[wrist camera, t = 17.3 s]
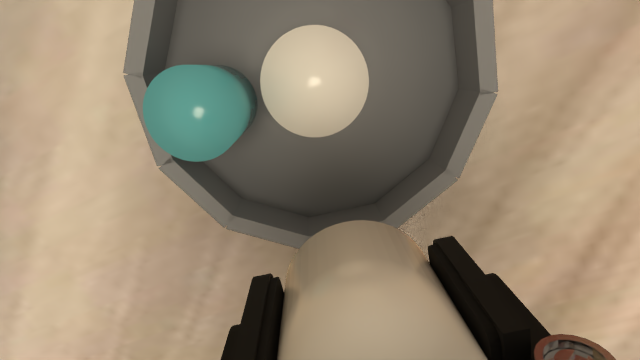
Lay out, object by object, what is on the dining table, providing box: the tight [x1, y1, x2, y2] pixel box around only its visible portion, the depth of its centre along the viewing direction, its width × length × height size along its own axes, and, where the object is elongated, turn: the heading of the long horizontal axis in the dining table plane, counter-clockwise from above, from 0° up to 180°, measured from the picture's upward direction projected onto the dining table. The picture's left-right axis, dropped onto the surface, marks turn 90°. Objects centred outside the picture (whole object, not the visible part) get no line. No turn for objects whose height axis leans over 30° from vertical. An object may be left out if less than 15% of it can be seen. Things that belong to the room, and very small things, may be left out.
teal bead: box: [143, 65, 258, 162], centre depth 20 cm, size 5×5×6 cm
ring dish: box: [123, 0, 498, 249], centre depth 22 cm, size 21×21×4 cm
